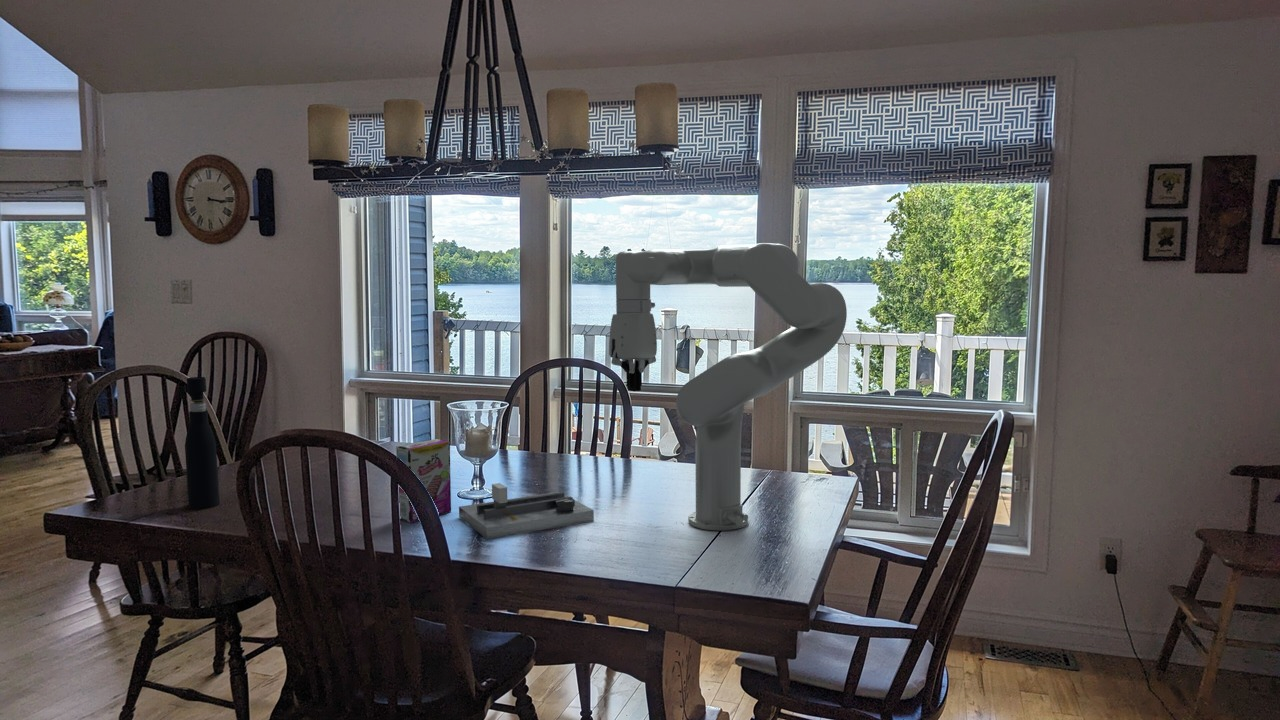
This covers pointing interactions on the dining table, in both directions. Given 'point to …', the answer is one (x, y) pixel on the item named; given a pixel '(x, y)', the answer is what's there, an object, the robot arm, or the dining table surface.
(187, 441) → the black water bottle
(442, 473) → the candy bar box
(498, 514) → the console
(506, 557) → the dining table surface
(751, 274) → the robot arm
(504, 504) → the block
